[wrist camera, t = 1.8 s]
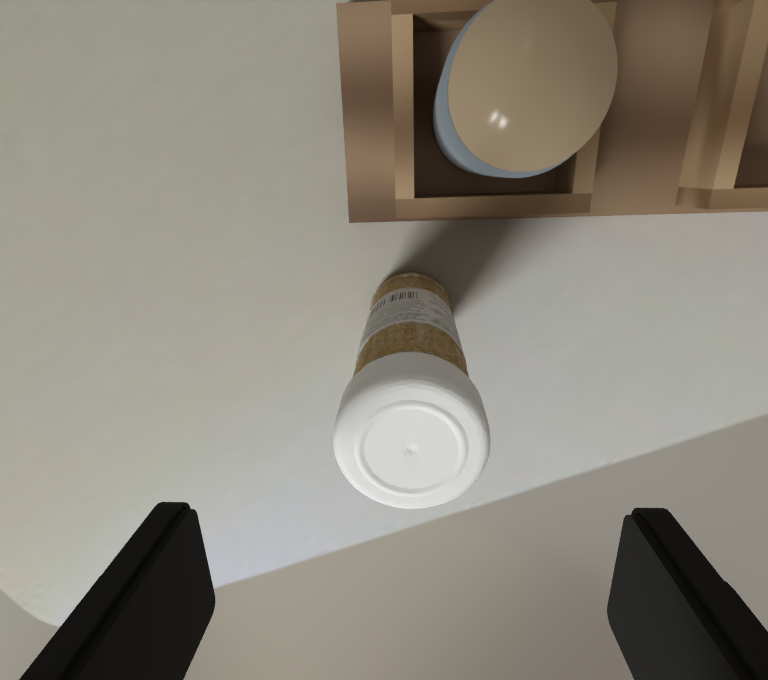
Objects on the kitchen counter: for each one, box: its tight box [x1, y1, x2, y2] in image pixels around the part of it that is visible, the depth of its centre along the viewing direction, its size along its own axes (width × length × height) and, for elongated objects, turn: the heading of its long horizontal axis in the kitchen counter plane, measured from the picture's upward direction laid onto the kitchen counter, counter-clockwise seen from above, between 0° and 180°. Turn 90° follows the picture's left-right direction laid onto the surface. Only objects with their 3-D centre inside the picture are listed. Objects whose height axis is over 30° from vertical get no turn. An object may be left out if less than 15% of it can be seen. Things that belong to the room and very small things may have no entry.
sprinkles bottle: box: [333, 272, 490, 509], centre depth 19 cm, size 5×5×13 cm
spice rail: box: [336, 0, 768, 223], centre depth 19 cm, size 9×26×4 cm, turn 92°
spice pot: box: [431, 0, 618, 178], centre depth 16 cm, size 5×5×8 cm
